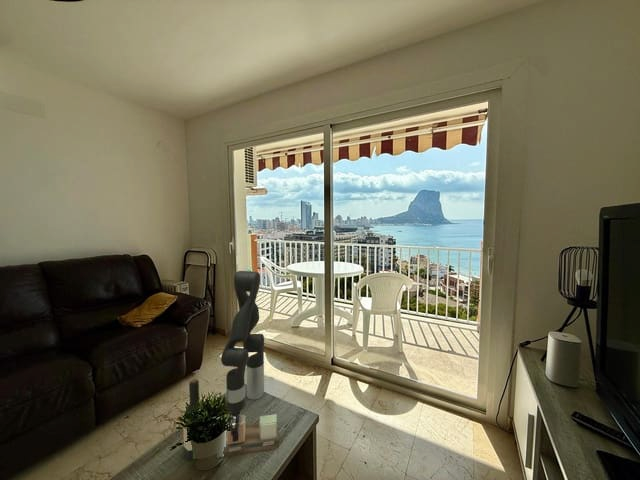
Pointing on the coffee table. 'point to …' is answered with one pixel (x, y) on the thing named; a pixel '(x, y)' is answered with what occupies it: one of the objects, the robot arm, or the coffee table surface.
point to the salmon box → (240, 434)
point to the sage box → (268, 427)
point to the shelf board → (250, 443)
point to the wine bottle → (193, 405)
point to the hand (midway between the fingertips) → (236, 435)
